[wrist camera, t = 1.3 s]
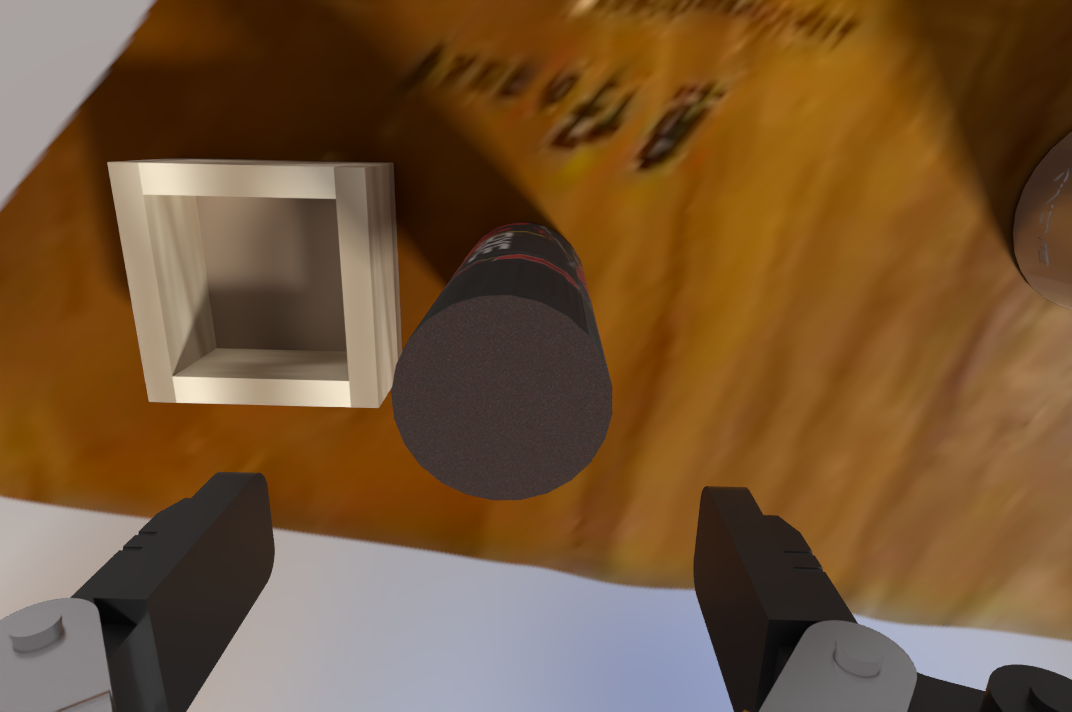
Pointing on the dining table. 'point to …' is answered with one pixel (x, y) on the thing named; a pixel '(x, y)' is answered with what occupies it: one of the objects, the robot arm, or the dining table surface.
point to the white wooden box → (262, 279)
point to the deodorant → (506, 371)
